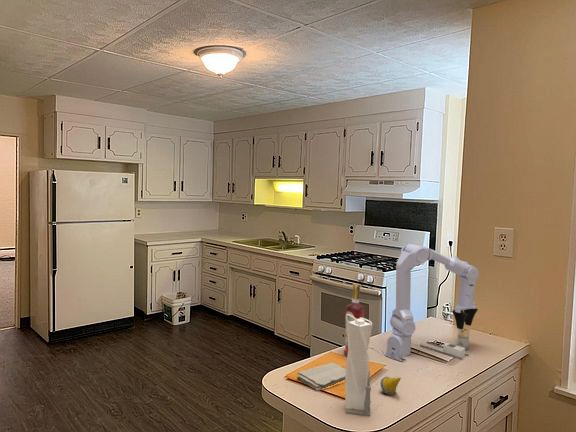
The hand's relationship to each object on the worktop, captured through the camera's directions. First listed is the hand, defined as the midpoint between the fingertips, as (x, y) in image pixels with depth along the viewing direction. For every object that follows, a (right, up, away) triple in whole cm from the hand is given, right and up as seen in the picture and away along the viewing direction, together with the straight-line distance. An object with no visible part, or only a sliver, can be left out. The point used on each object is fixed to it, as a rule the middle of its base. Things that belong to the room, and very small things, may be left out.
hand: (464, 326), depth 175 cm
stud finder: (-7, -9, -6) cm, 13 cm away
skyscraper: (-52, -12, -47) cm, 71 cm away
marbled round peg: (0, -9, +1) cm, 9 cm away
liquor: (-47, -9, -8) cm, 48 cm away
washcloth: (-59, -11, -29) cm, 66 cm away
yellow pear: (-39, -12, -37) cm, 55 cm away
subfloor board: (-6, -10, -1) cm, 12 cm away
